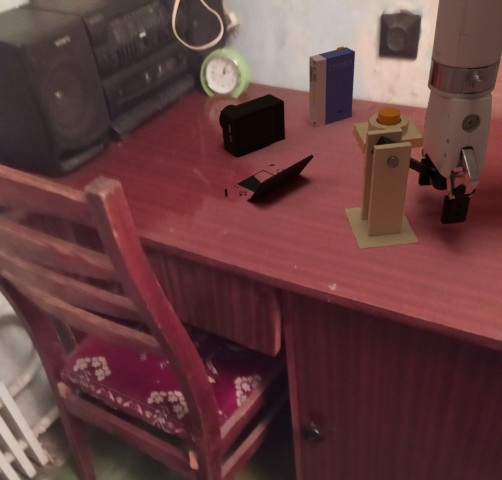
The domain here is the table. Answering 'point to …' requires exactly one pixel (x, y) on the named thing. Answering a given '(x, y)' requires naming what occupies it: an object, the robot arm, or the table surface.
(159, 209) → the table surface
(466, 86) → the robot arm
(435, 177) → the switch lever
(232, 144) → the digital camera
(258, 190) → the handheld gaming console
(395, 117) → the button
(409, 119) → the button block
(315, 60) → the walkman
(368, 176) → the switch bracket
